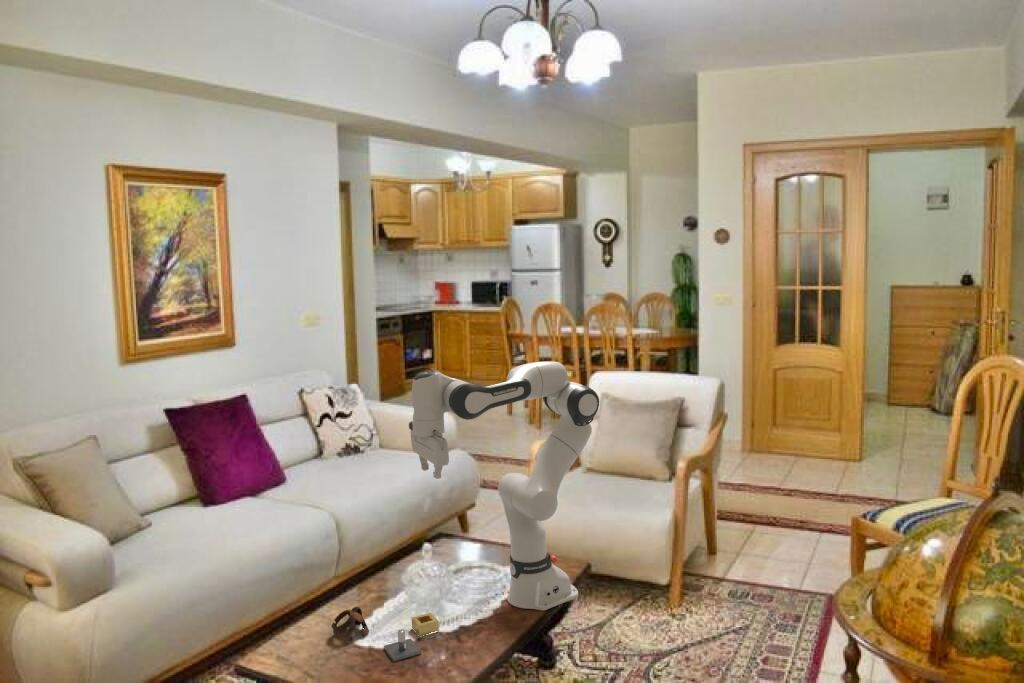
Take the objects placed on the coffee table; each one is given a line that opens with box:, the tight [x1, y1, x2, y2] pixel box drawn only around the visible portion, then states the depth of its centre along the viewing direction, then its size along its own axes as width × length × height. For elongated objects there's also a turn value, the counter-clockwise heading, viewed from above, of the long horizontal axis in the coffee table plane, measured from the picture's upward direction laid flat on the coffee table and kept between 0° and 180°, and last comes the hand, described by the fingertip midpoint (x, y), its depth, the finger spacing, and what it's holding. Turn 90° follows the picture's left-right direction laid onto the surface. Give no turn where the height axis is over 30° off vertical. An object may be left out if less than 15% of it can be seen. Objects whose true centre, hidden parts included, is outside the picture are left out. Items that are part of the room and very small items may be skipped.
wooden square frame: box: [411, 612, 440, 638], centre depth 240 cm, size 6×6×4 cm
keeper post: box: [383, 628, 422, 663], centre depth 228 cm, size 8×8×6 cm
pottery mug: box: [331, 606, 370, 637], centre depth 240 cm, size 12×10×8 cm
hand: (431, 473), depth 238 cm, fingers open, 8 cm apart
